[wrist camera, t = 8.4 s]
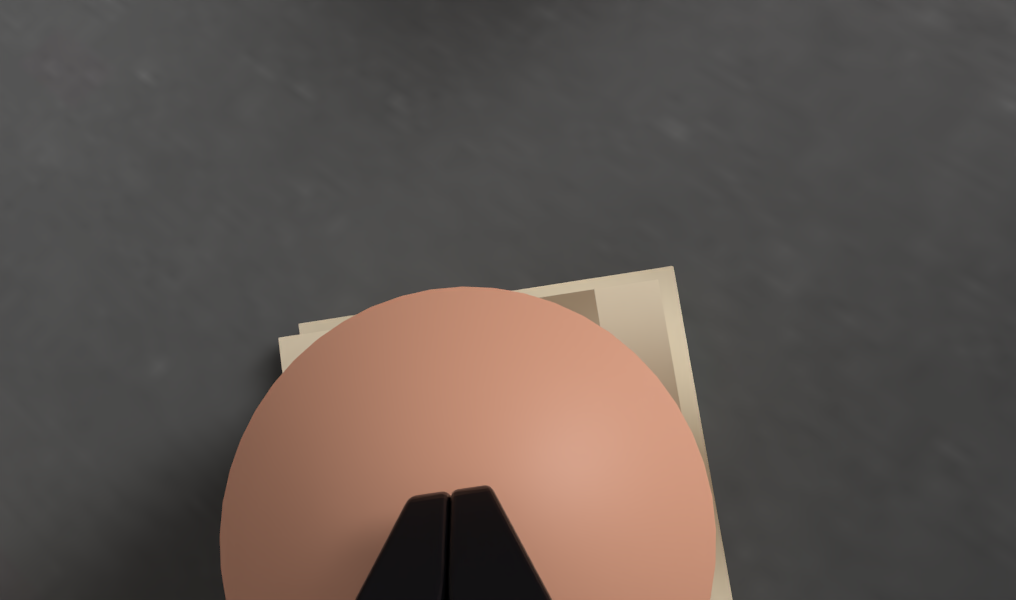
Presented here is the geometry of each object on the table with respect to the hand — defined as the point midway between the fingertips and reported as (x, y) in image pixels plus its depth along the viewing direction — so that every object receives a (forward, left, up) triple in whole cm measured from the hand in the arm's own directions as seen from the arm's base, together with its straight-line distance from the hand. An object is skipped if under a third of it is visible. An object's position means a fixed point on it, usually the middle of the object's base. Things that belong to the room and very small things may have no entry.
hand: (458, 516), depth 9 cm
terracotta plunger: (0, 0, -7) cm, 7 cm away
